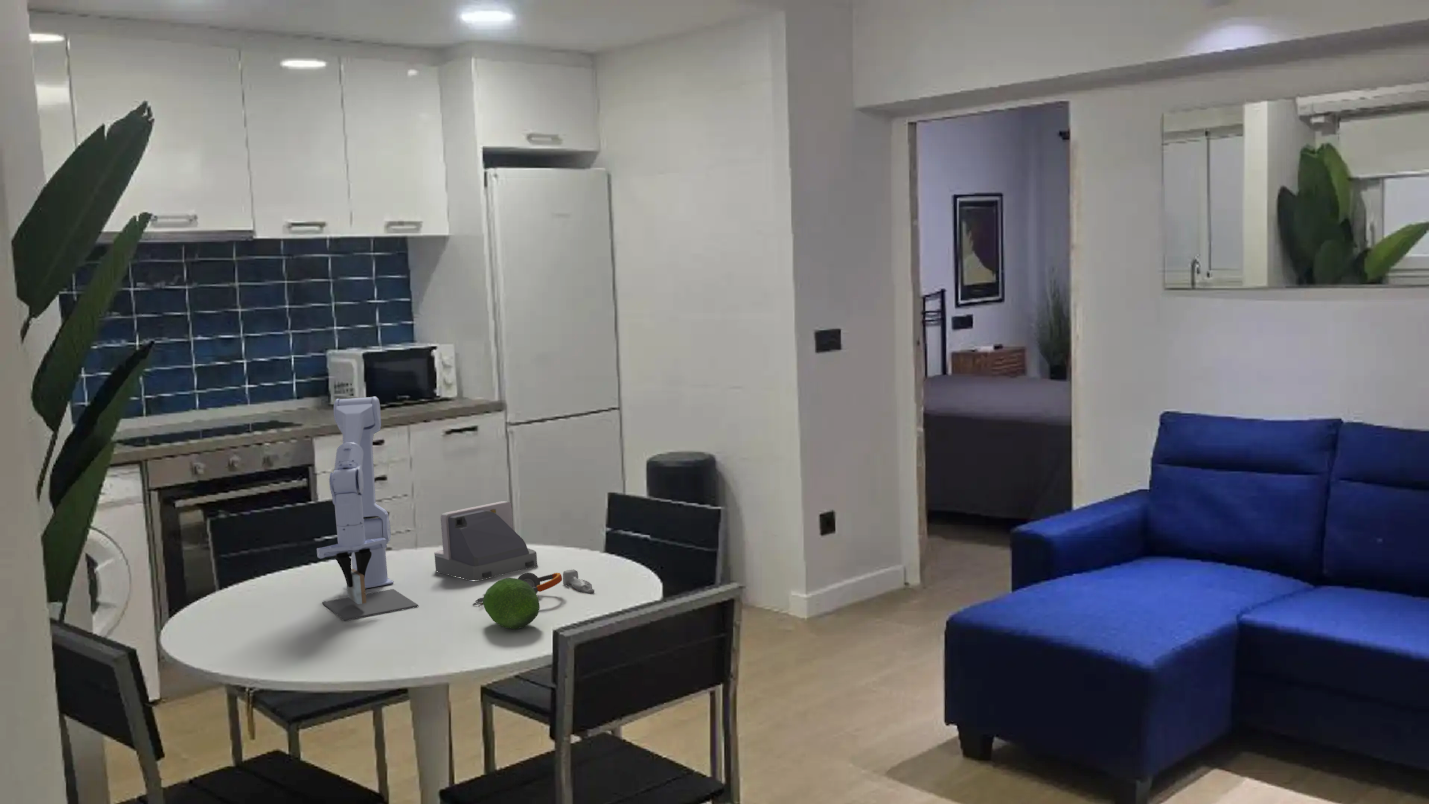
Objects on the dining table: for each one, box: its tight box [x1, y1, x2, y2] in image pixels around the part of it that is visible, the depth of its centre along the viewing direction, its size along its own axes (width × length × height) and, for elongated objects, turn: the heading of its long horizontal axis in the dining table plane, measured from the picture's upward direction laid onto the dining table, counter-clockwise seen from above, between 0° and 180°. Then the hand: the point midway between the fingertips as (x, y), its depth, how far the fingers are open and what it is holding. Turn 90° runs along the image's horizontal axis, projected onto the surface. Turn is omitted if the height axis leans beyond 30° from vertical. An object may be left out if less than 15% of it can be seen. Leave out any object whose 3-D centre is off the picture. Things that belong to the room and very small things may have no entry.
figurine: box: [562, 569, 595, 594], centre depth 276 cm, size 4×12×4 cm, turn 32°
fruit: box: [482, 577, 541, 630], centre depth 249 cm, size 15×10×10 cm, turn 33°
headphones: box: [472, 572, 563, 607], centre depth 270 cm, size 17×5×20 cm
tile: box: [346, 568, 367, 604], centre depth 268 cm, size 8×2×6 cm, turn 32°
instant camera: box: [434, 500, 538, 581], centre depth 300 cm, size 21×21×15 cm
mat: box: [322, 588, 419, 622], centre depth 272 cm, size 18×16×1 cm
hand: (355, 585), depth 269 cm, fingers closed on tile, 2 cm apart
